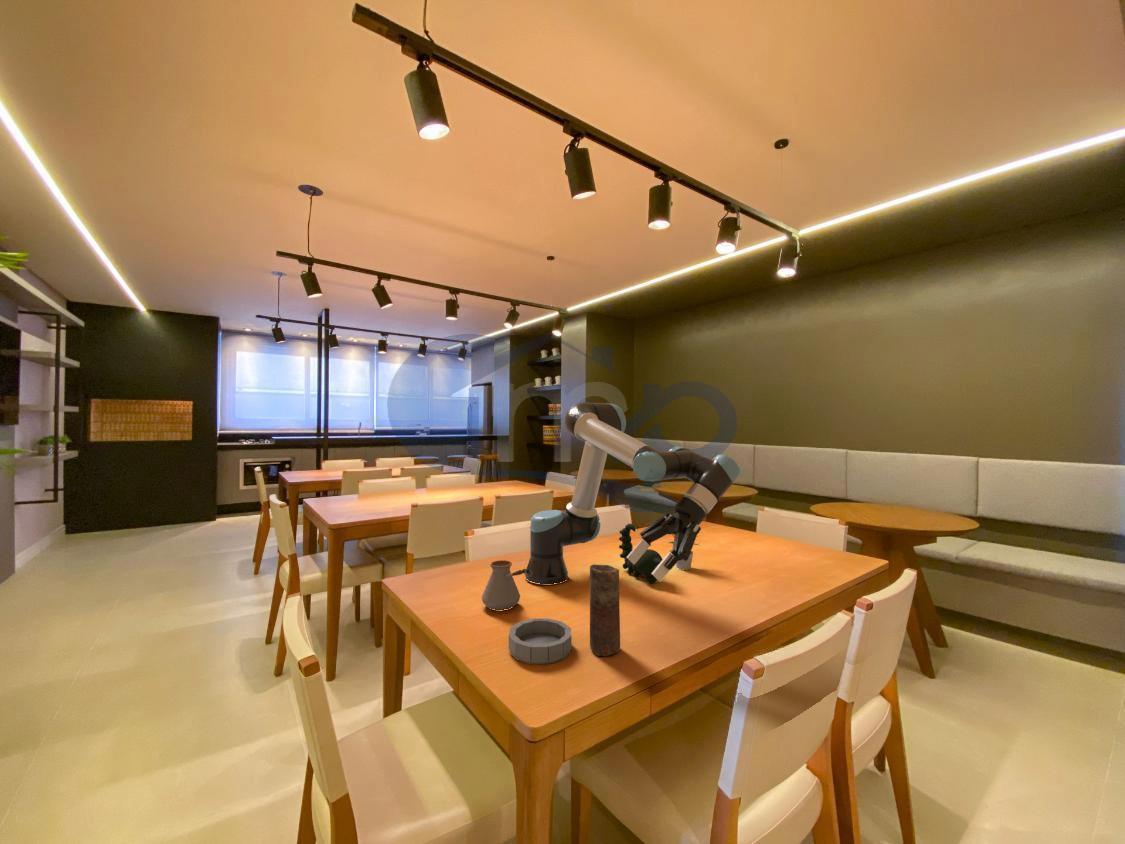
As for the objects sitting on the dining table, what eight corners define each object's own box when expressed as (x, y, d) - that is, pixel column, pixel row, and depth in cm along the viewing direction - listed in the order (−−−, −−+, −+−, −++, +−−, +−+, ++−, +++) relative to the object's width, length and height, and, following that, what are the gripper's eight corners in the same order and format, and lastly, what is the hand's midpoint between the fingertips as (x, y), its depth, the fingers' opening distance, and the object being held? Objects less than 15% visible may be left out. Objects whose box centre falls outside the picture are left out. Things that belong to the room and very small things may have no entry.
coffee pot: (475, 604, 135) (475, 554, 135) (508, 596, 141) (508, 548, 142) (510, 630, 118) (510, 573, 118) (546, 619, 124) (546, 565, 125)
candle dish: (496, 654, 105) (496, 637, 105) (530, 629, 118) (530, 614, 118) (551, 671, 98) (551, 652, 98) (581, 642, 111) (581, 626, 111)
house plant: (710, 575, 162) (710, 530, 163) (672, 575, 163) (672, 530, 163) (698, 563, 177) (698, 522, 177) (663, 563, 177) (663, 522, 177)
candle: (587, 642, 111) (587, 562, 111) (616, 641, 112) (616, 561, 112) (592, 658, 104) (592, 572, 104) (623, 657, 104) (623, 571, 104)
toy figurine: (614, 573, 169) (652, 589, 146) (612, 523, 171) (649, 531, 148) (635, 570, 173) (675, 586, 150) (633, 521, 174) (672, 528, 152)
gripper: (735, 525, 104) (678, 596, 99) (677, 506, 128) (630, 564, 123) (716, 503, 102) (657, 575, 98) (661, 489, 126) (612, 546, 122)
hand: (642, 569), depth 110 cm, fingers open, 13 cm apart
